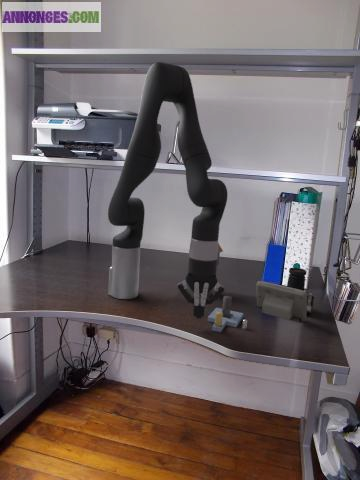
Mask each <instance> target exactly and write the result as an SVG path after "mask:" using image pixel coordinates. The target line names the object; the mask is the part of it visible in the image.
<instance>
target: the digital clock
mask: <svg viewBox="0 0 360 480" xmlns="http://www.w3.org/2000/svg"><path fill="white" fill-rule="evenodd" d="M307 296H308V293H307V292H306V291H305V290H304V291H302V290H298V289H294V288H290V287H287V286H285V285H280V284H276V283H272V282H269V281H268V282H267V281H263V280H262V281H261V280H258V281H257V282H256V306H257V307H259V308H261V313H263V314H265V315H270V316H274V317H277V318H281V319H284V320H287V321H289V320H291V319H292V318H293V317H295V318H296V317H297V318H299V322H305V321H306V320H307V316H308V315H307Z"/></svg>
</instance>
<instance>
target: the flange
mask: <svg viewBox="0 0 360 480" xmlns="http://www.w3.org/2000/svg"><path fill="white" fill-rule="evenodd" d="M243 319H244V313H243V312H238V311H234V310H231V311H230V319H229V318H225V317H223V313H222V308H221V307H215V308H214V309H213V311H212V312H210V314H209V315H208V316H207V322H211V323H213V325H212V326H211V331H214V332H217V333H221V332H223V330H224V328H225V327H226V326H228V327H232V328H237V327H238V326H239V324H240V322H241V321H242V320H243Z"/></svg>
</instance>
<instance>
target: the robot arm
mask: <svg viewBox="0 0 360 480" xmlns="http://www.w3.org/2000/svg"><path fill="white" fill-rule="evenodd" d="M144 78H145V79H144V82H143V83H144V84H143V86H142V91H141V98H140V103H139V109H138V113H137V117H136V121H135V125H134V128H133V132H132V135H131V139H130V142H129V145H128V148H127V151H126V155H125V159H124V162H123V167H122V169H121V173H120V176H119V179H118V181H117V184H116V187H115V189H114V191H113V194H112V196H111V199H110V202H109V204H108V210H107V219H108V221H109V223H110V224H111V225H113V226H116V227H126V228H125V229H124V230H123V231H121V233H118V234H116V235H115V236H113V238H112V248H111V249H112V250H111V266H110V267H109V268H108V290H107V291H108V293H107V294H108V295H109V296H111V297H113V298H115V299H118V300H119V299H120V300H132V299H135V298H137V297H138V295H139V286H140V284H139V283H140V261H141V259H140V258H141V243H142V240H143V235H144V231H143V230H144V223H145V214H146V213H145V205H144V202H143V201H142V199H141V198H140V197H132V195H133V192H134V191H135V190H136V189H137V188H138V187H139V186H140V185H141V184H142V183H143V182H145V181H146V179H147V178H148V177H149V176H151V174H152V173H153V172H154V170H155V168H156V166H157V163H158V162H159V161H158V160H159V158H160V155H161V150H162V141H161V140H162V139H161V136H160V132H159V127H158V118H159V114H160V110H161V108H162V104H163V103H164V102H166V103H173V105H174V106H175V109H176V111H177V114H178V119H179V125H178V126H179V127H178V131H177V137H176V138H177V147H178V152H179V155H180V158H181V161H182V163H183V165H184V169H185V181H186V189H187V191H186V192H187V195H188V197H189V200H190V201H191V202H192V204H193V205H194V206H196V207H199V208H201V212H200V214H198V215H197V216H195V217H194V218H193V220H192V225H191V239H190V243H189V250H188V264H187V265H188V266H187V274H186V276H185V279H184V280H182V281H179V282H178V283H177V289H178V290H179V292H180V293H181V294H182V296H183V298H185V300H186V301H187V303H188V304H192V305H193V313H192V315H193V317H195V319H199V320H202V318H203V317H204V315H205V306H206V305H212V304H213V303H214V302H215V301H216V300H217V299H218V298H219V297H220V296H221V295H222V294H223V293H224V291H225V287H224V285H223V284H221V283H220V282H218V278H217V268H218V266H217V259H218V243H219V237H220V235H219V234H220V224H221V222H222V219H223V215H224V212H225V209H226V206H227V202H228V188H227V186H226V184H225V183H224V181H222V180H220V179H217V178H209V175H208V170H210V168H211V167H212V163H213V162H212V159H211V156H210V153H209V149H208V147H207V145H206V141H205V138H204V136H203V133H202V129H201V125H200V121H199V115H198V109H197V104H196V99H195V94H194V89H193V84H192V80H191V77H190V74H189V72H188V71H187V69H185V67H182V66H179V65H176V64H172V63H166V62H162V61H157V62H154V63H153V64H151V66H150V67H149V68H148V71H147V73H146V76H145V77H144ZM188 287H189V288H190V290H191V292H193V296H192V295H191V293H190V292H189V291H188V289H187V288H188ZM212 289H213V293H212V294H211V295H210V296H207V293H209V292H210V291H211V290H212ZM199 293H201V295H199Z"/></svg>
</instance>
